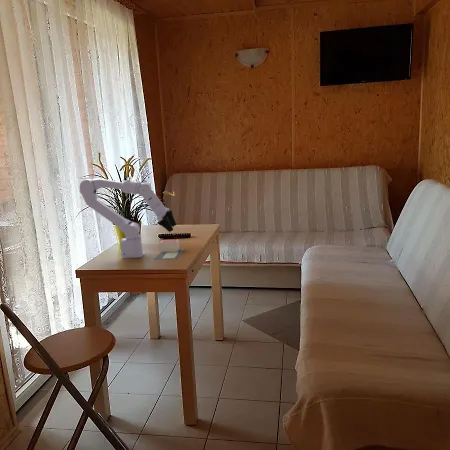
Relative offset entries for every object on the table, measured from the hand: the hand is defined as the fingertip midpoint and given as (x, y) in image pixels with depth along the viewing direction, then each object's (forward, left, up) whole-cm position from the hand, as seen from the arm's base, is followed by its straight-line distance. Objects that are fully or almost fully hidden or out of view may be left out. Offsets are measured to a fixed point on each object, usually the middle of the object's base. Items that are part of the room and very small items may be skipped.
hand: (173, 228), depth 211 cm
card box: (-3, +1, -11) cm, 12 cm away
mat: (-2, -4, -12) cm, 12 cm away
